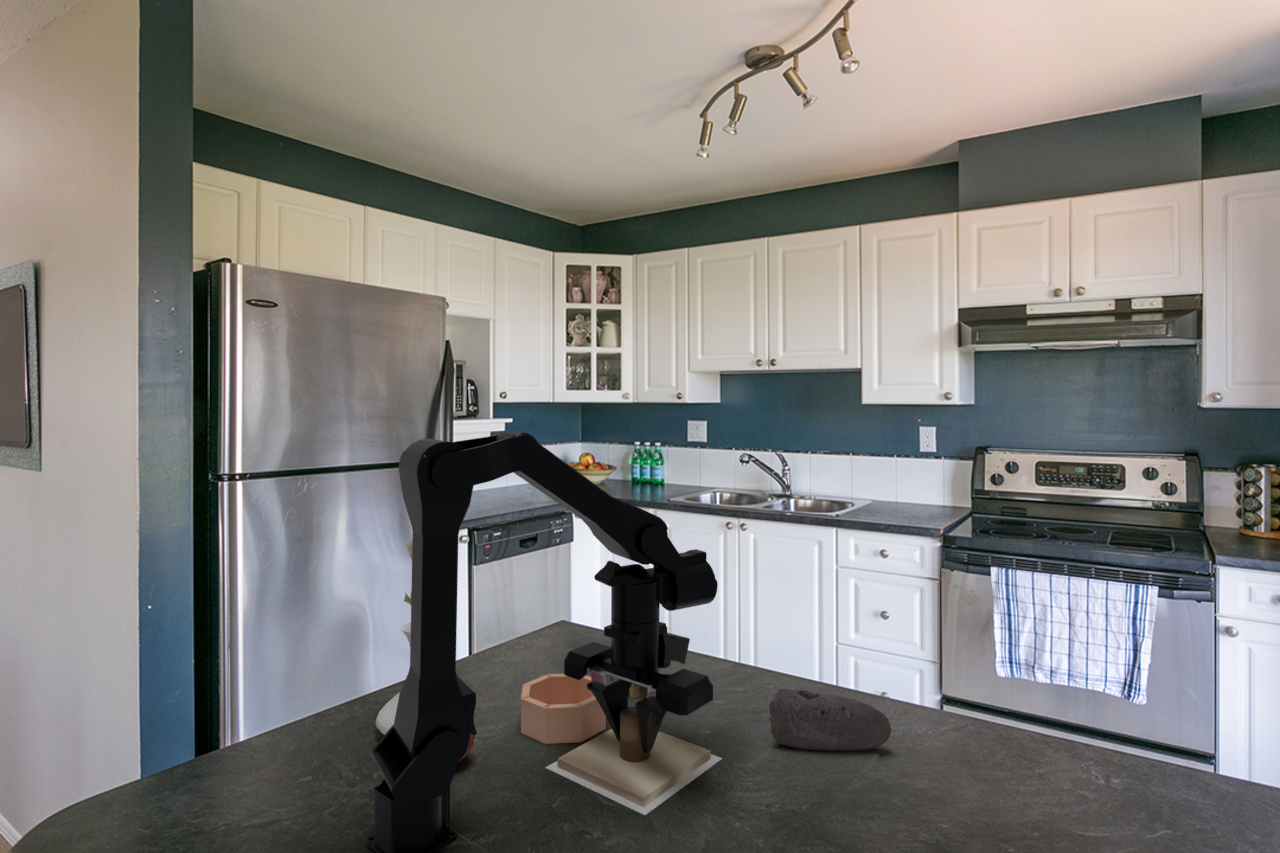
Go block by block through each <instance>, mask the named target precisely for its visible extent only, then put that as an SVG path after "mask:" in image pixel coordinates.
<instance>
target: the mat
mask: <svg viewBox="0 0 1280 853" xmlns="http://www.w3.org/2000/svg"><path fill="white" fill-rule="evenodd" d="M722 759H723V757H720V756H718V755H715V754H712V753H711V759H710V760H708V761H707V762H706V763H704V764H703V765H701V766H700V767H699V768H697V769H696V770H695V771H693V772H692V773H690V774H689V775H688V776H686V777H685V778H683V779H682V780H681V781H679V782H678V783H676V784H675V785H674V786H672V787H671V788H669V789H668V790H667V791H665V792H664V793H663V794H661V795H660V796H658V797H657V798H656V799H654V800H653V801H651V802H650V803H649V804H647V805H646V806H644V807H642V806H640V805H638V804H636V803H633V802H631V801H629V800H627V799H625V798H623V797H621V796H619V795H616V794H614V793H612V792H610V791H608V790H606V789H604V788H602V787H599V786H597V785H595V784H593V783H591V782H589V781H587V780H584V779H582V778H580V777H578V776H576V775H574V774H572V773H570V772H567V771H565V770H563V769H561V768H559V767H557V761H555V762H553V763H550V764H549V765H547V766H545V767H544V768H545V769H547V770H549V771H551V772H553V773H555V774H557V775H560V776H562V777H564V778H566V779H568V780H570V781H572V782H574V783H577V784H579V785H581V786H583V787H584V788H587V789H588V790H590V791H593V792H595V793H597V794H599V795H601V796H604V797H605V798H608V799H610V800H612V801H614V802H616V803H618V804H620V805H622V806H624V807H627V808H628V809H631V810H632V811H635V812H637V813H639V814H641V815H643V816H646V815H648V814H649V813H650V812H652V811H653V810H654V809H655V808H657V807H659V806H660V805H661V804H663V803H664V802H665V801H667V800H668V799H670V798H671V797H672V796H673V795H675V794H676V793H677V792H679V791H680V790H681V789H683V788H685V787H686V786H687V785H688V784H690V783H691V782H693V781H694V780H696V779H697V778H698V777H699V776H700V775H702V774H703V773H705V772H706V771H707V770H709V769H710V768H712V767H713V766H715V765H716V764H717V763H718V762H720V761H721V760H722Z"/></svg>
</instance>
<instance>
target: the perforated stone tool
mask: <svg viewBox="0 0 1280 853" xmlns="http://www.w3.org/2000/svg"><path fill="white" fill-rule="evenodd" d="M769 714H770V717H769V718H768V721H769V722H770V730H771V731H770V733H771V734H772V737H773V739H774V740H775V742H776V743H778V744H779V745H780V746H785V747H790V748H795V749H800V750H812V751H814V750H815V751H828V752H829V751H833V752H839V751H840V752H848V751H849V752H850V751H852V752H853V751H854V752H858V751H859V752H860V751H871V750H874V749H877V748H880V747H882V745H883V744H885V743H887V741H888V740H889V739H890V737H891V734H892V728H891V723H890V721H889V719H888V717H887V716H886V715H885V714H884V713H882V712H881V711H880V710H878V709H877V708H875V707H873V706H872V705H870V704H867V703H865V702H862V701H860V700H858V699H857V700H856V699H852V698H849V697H845V696H840V695H836V694H830V693H826V692H822V691H821V692H820V691H818V692H814V691H809V690H806V689H805V690H802V689H800V690H799V689H785V688H779V689H778V691H777V692H776V693H775V695H774V698H773V700H771V701H770V702H769Z"/></svg>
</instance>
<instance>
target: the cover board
mask: <svg viewBox="0 0 1280 853" xmlns="http://www.w3.org/2000/svg"><path fill="white" fill-rule="evenodd" d="M711 752H712V751H711V750H710V749H707V748H705V747H702V746H700V745H697V744H694V743H691V742H689V741H686V740H683V739H682V738H678V737H676V736H672V735H670V734H667V733H665V732H662V731H660V730H659V732H658V734H657V737H656V740H655V743H654V745H653V748H652V750H651V751H650V752H648V753H645V752H644V750H643V747H642V743H641V737H640V730H639V723H638V717H637V710H636V706H628V708H625V709H623V710H622V711H621V712H620V742H618V740H617V738H616V736H615V734H614V732H613V730H612V728H611V729H609V730H606V731H604V732H603V733H601V734H599V735H597V736H596V737H594V738H592V739H591V740H589V741H586V742H585V743H583V744H581V745H579V746H578V747H575V748H574V749H572V750H570V751H568V752H567V753H565V754H562V756H559V757H557V767H559V768H561V769H563V770H565V771H567V772H570V773H572V774H574V775H576V776H578V777H580V778H582V779H584V780H587V781H589V782H591V783H593V784H595V785H597V786H599V787H602V788H604V789H606V790H608V791H610V792H612V793H614V794H616V795H619V796H621V797H623V798H625V799H627V800H629V801H631V802H633V803H636V804H638V805H640V806H642V807H644V806H646V805H647V804H649V803H650V802H651V801H653V800H654V799H656V798H657V797H658V796H660V795H661V794H663V793H664V792H665V791H667V790H668V789H669V788H671V787H672V786H674V785H675V784H676V783H678V782H679V781H681V780H682V779H683V778H685V777H686V776H688V775H689V774H690V773H692V772H693V771H695V770H696V769H697V768H699V767H700V766H701V765H703V764H704V763H706V762H707V761H708V760H710V759H711V754H712V753H711Z"/></svg>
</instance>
